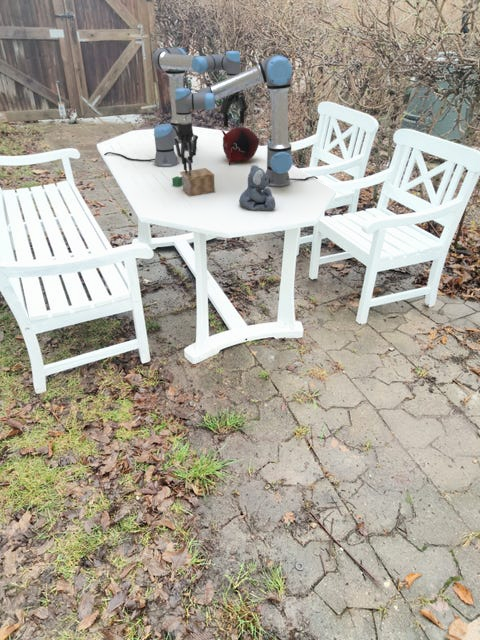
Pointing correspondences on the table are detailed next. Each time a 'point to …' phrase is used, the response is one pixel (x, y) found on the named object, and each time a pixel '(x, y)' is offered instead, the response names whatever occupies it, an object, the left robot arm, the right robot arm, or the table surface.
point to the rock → (191, 145)
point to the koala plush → (257, 191)
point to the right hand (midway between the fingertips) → (187, 169)
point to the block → (177, 181)
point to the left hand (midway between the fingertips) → (234, 125)
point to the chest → (198, 185)
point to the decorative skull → (240, 144)
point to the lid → (196, 172)
